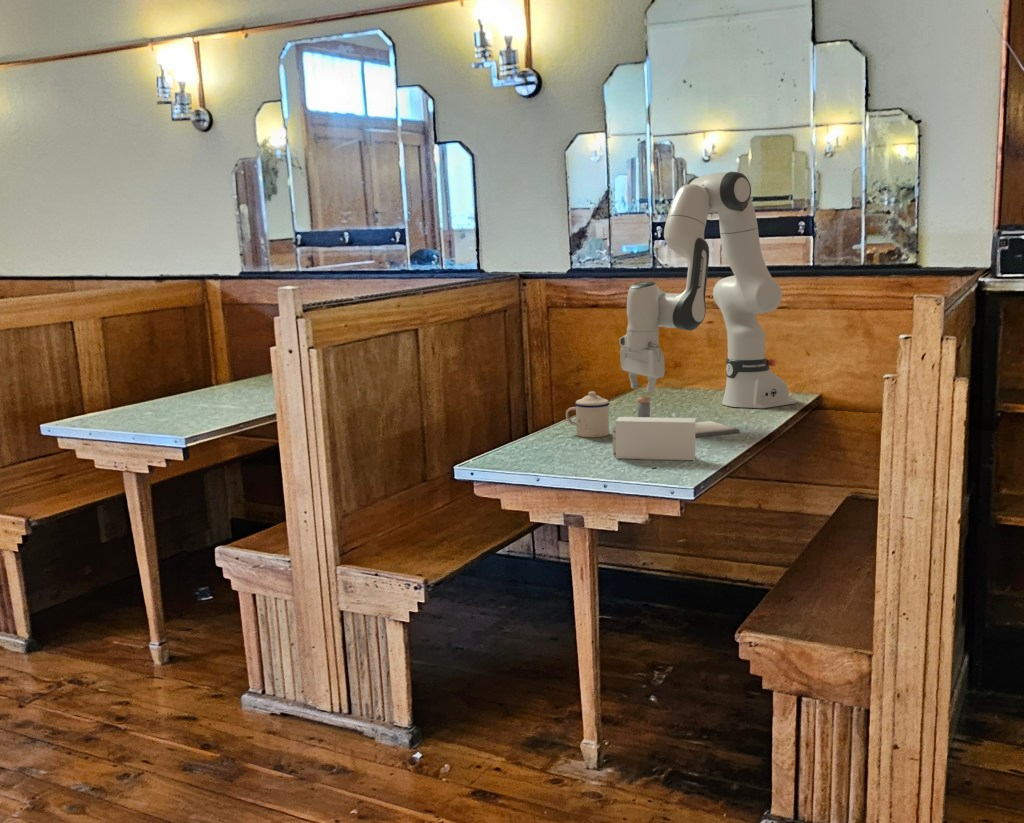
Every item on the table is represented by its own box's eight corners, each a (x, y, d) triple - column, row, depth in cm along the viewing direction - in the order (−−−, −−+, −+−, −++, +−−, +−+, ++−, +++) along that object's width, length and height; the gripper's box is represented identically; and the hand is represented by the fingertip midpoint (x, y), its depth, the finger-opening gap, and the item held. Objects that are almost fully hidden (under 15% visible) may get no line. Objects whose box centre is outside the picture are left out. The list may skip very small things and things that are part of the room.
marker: (646, 422, 297) (646, 396, 295) (652, 424, 293) (652, 398, 292) (635, 423, 295) (635, 397, 294) (641, 425, 292) (641, 399, 291)
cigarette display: (696, 456, 252) (696, 418, 250) (694, 461, 247) (694, 422, 245) (614, 454, 257) (613, 416, 255) (610, 459, 252) (610, 420, 250)
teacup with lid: (613, 432, 284) (613, 389, 282) (604, 438, 276) (604, 395, 274) (571, 430, 288) (570, 388, 286) (561, 436, 280) (560, 393, 278)
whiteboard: (712, 423, 292) (712, 420, 291) (739, 432, 279) (739, 428, 278) (631, 432, 283) (631, 428, 283) (655, 441, 270) (655, 437, 270)
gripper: (670, 343, 282) (670, 394, 284) (636, 337, 301) (636, 385, 303) (649, 344, 280) (649, 396, 282) (616, 338, 299) (616, 386, 301)
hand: (642, 390), depth 293 cm, fingers open, 8 cm apart
